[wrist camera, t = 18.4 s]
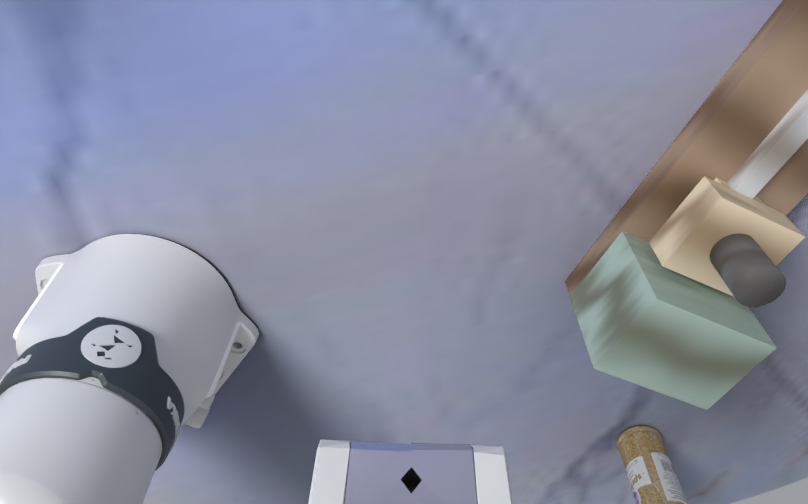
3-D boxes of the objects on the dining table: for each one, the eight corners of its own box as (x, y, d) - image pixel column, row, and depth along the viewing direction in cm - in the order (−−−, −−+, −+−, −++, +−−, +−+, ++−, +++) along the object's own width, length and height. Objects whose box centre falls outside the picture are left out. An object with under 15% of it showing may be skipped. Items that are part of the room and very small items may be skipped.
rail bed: (662, 320, 53) (707, 410, 45) (565, 281, 51) (593, 368, 42) (1021, -63, 36) (1202, -31, 27) (897, -148, 33) (1055, -141, 25)
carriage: (718, 266, 47) (768, 338, 40) (644, 233, 45) (683, 303, 39) (775, 205, 44) (840, 273, 37) (697, 168, 42) (750, 232, 35)
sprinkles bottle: (609, 432, 62) (651, 563, 51) (653, 418, 60) (706, 550, 49) (623, 457, 64) (666, 587, 53) (666, 444, 63) (720, 575, 52)
